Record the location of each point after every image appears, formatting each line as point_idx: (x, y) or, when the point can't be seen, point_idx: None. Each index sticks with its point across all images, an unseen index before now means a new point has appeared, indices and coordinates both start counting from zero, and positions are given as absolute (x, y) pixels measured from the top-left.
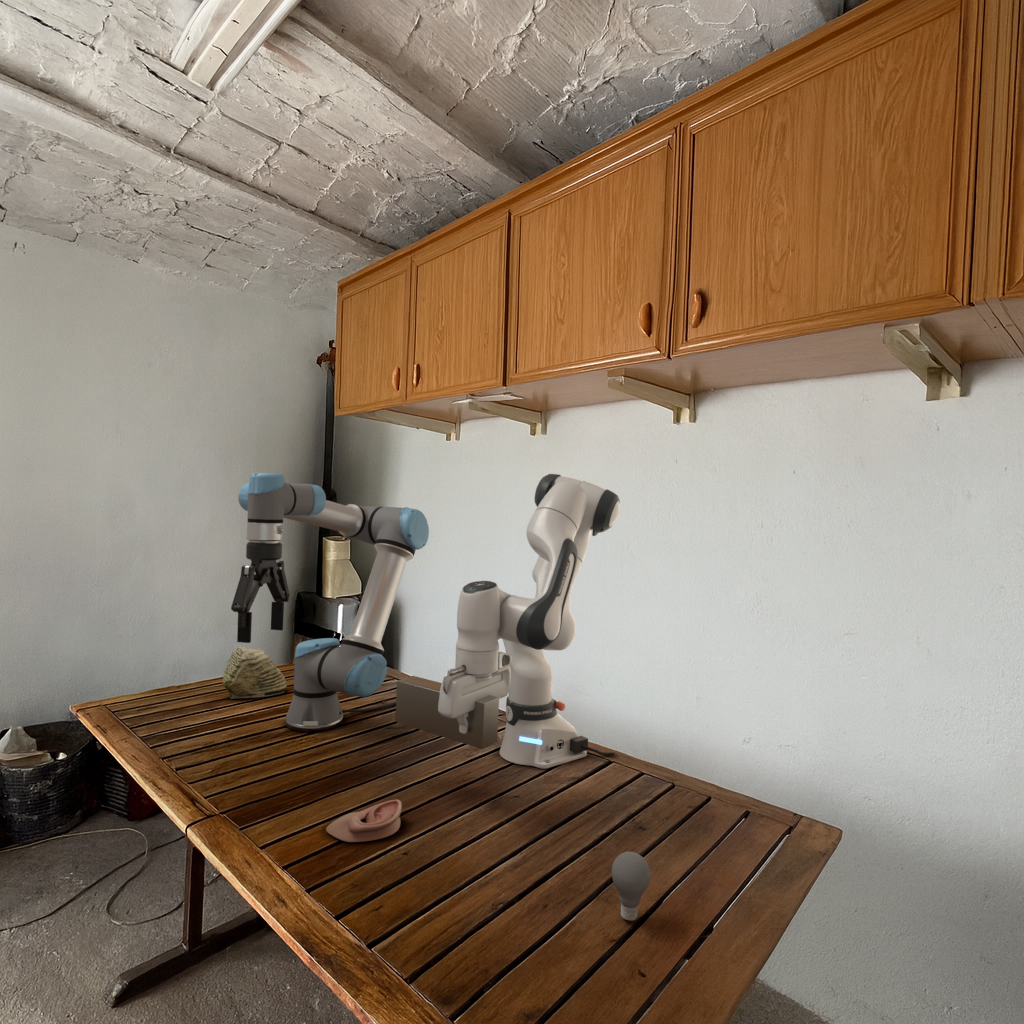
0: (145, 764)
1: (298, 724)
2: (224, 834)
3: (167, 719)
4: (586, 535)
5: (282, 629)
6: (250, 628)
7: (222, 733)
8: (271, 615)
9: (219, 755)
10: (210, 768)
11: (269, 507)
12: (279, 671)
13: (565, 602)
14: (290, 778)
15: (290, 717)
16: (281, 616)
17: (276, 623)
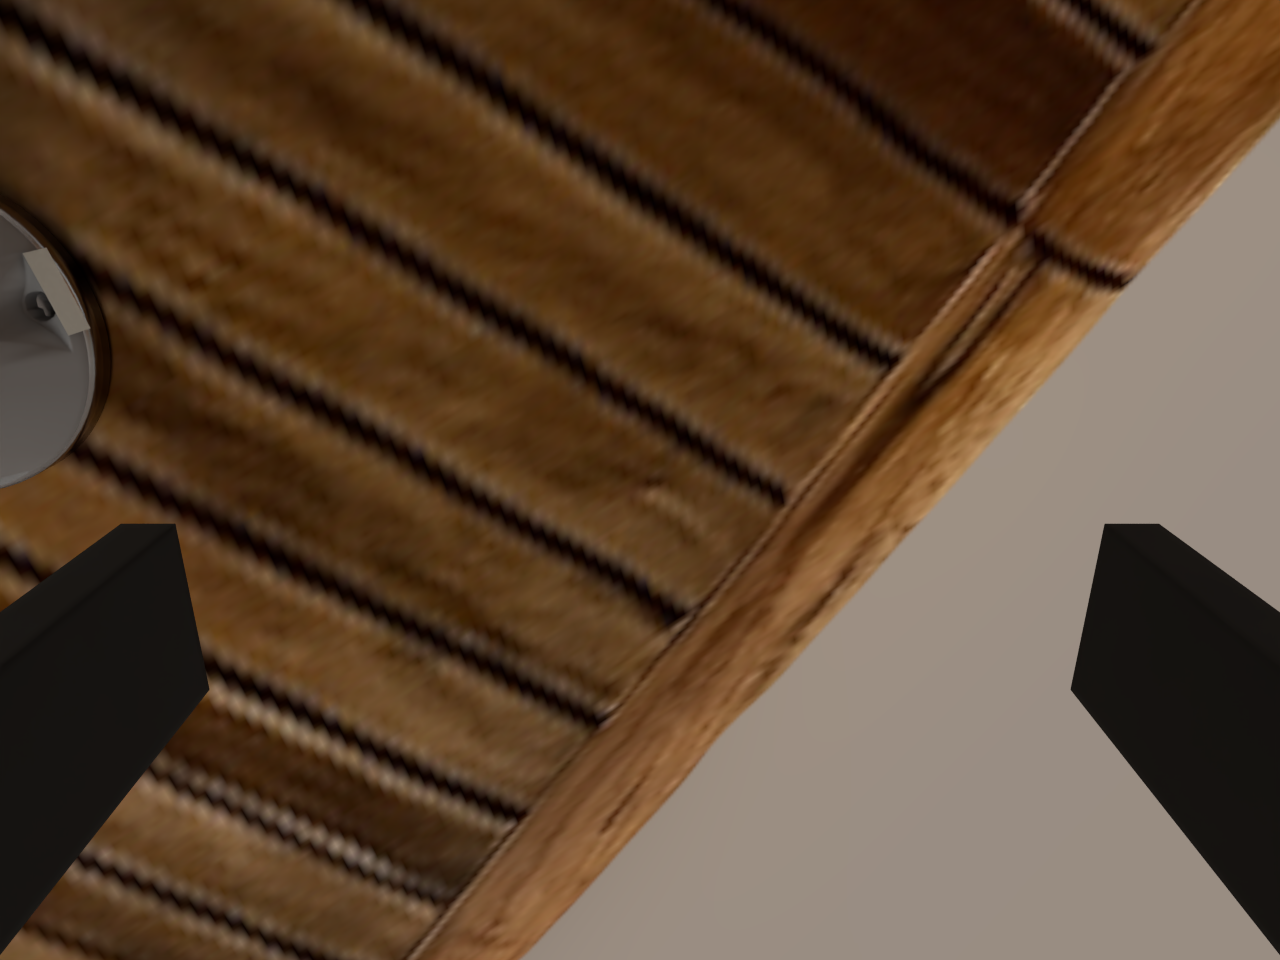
0: (665, 743)
1: (87, 360)
2: (1189, 97)
3: (249, 932)
4: None
5: (132, 528)
6: (1276, 638)
7: (287, 667)
8: (73, 855)
9: (505, 545)
10: (635, 504)
11: None
12: None
13: None
14: (641, 93)
15: (57, 431)
16: (22, 659)
17: (136, 665)
